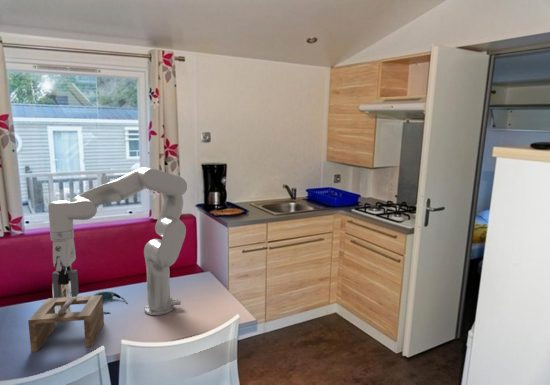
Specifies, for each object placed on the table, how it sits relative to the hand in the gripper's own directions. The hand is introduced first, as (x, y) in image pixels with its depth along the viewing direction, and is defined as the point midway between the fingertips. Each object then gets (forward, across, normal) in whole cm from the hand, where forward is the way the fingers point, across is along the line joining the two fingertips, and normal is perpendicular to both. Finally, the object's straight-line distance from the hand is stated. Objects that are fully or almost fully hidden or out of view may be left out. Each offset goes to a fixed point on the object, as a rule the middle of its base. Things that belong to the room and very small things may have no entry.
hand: (65, 281), depth 142 cm
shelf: (+22, 0, 0) cm, 22 cm away
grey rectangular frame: (+5, 0, 0) cm, 5 cm away
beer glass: (+22, +18, +8) cm, 30 cm away
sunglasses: (+22, +26, -8) cm, 35 cm away
